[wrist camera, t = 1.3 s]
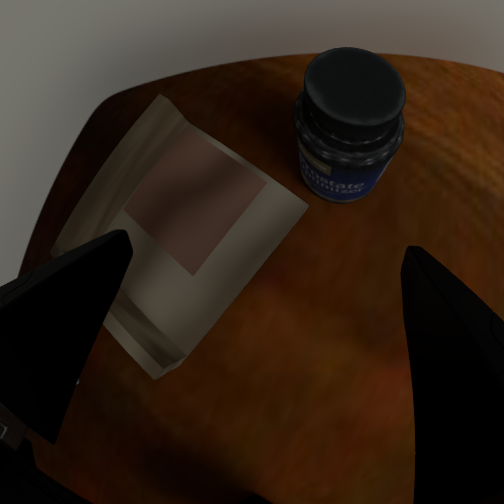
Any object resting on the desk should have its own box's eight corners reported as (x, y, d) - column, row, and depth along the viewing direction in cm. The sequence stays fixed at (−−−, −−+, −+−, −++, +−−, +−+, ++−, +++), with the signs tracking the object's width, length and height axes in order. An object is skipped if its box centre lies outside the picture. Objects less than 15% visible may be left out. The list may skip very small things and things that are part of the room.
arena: (308, 206, 22) (307, 189, 18) (180, 364, 23) (154, 380, 19) (181, 118, 25) (159, 94, 21) (81, 256, 26) (49, 252, 22)
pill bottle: (289, 190, 22) (266, 116, 12) (313, 123, 23) (306, 25, 12) (367, 217, 21) (410, 162, 10) (386, 147, 21) (425, 59, 10)
